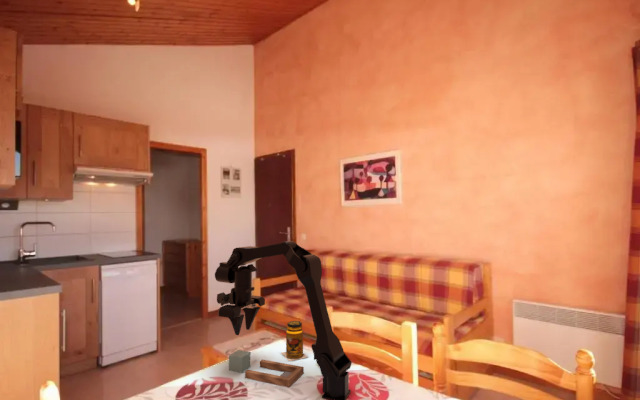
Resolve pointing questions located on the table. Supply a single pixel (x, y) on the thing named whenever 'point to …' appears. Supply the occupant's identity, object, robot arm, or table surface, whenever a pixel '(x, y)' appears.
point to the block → (239, 361)
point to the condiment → (294, 341)
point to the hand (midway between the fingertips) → (242, 332)
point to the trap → (285, 374)
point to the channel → (276, 379)
